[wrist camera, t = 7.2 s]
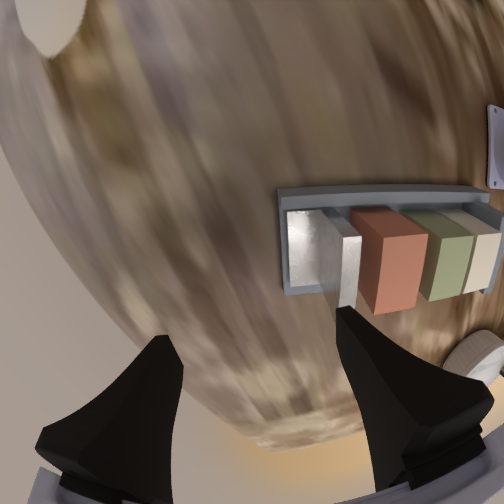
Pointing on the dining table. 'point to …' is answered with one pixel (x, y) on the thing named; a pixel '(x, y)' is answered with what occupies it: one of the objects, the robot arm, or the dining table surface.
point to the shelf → (392, 197)
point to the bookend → (324, 254)
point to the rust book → (389, 258)
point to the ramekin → (477, 357)
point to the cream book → (476, 248)
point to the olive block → (442, 254)
